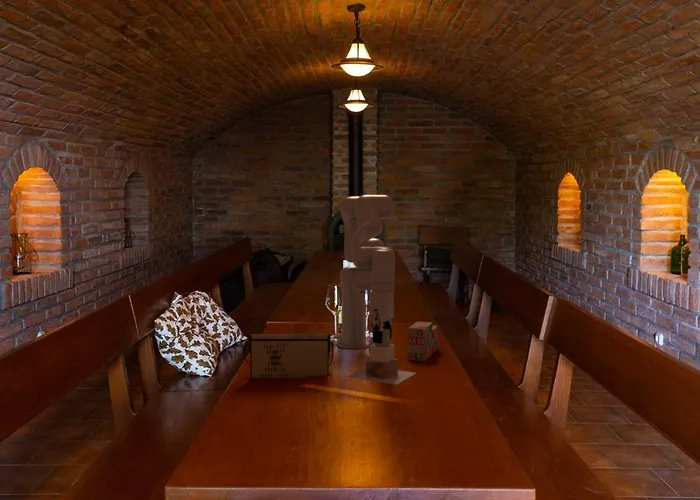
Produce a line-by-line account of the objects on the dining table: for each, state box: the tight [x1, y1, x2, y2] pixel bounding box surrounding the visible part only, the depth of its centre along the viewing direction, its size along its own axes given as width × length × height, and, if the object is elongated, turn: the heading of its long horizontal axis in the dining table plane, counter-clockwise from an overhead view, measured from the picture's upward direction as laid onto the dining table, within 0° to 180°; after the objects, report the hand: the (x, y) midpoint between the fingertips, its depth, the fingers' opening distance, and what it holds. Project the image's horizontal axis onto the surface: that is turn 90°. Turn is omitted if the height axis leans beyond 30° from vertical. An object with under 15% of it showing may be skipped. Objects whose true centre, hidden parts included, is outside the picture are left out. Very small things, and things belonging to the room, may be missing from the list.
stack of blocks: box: [407, 321, 439, 362], centre depth 278 cm, size 21×6×12 cm, turn 160°
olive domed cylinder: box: [375, 328, 391, 347], centre depth 243 cm, size 5×5×5 cm
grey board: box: [346, 366, 417, 385], centre depth 244 cm, size 18×16×1 cm
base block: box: [365, 357, 399, 379], centre depth 244 cm, size 8×8×5 cm
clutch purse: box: [243, 333, 335, 380], centre depth 245 cm, size 30×7×15 cm, turn 93°
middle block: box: [369, 343, 395, 363], centre depth 244 cm, size 6×6×5 cm
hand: (382, 340), depth 243 cm, fingers open, 6 cm apart
